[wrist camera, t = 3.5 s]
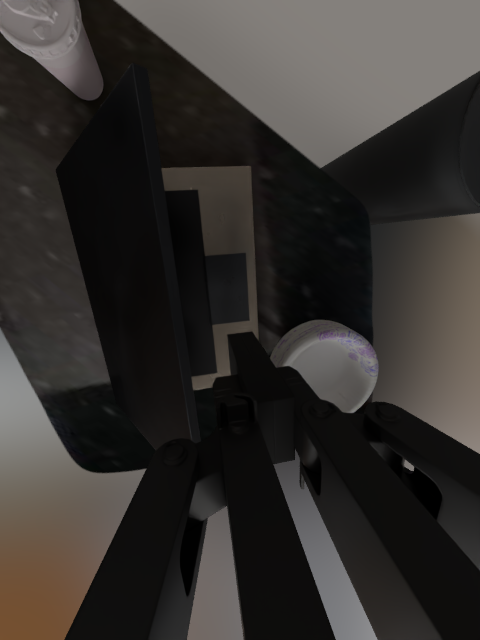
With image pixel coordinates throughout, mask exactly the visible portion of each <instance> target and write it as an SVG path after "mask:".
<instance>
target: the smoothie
mask: <svg viewBox="0 0 480 640" xmlns="http://www.w3.org/2000/svg"><path fill="white" fill-rule="evenodd" d="M0 32H1V33H2V34H3V35H4V37H5V38H6V39H7V40H8V41H9V42H10V43H12V44H13V45H14V46H15V47H16V48H17V49H19V50H20V51H22V52H24V53H26V54H27V55H29V56H32V57H33V58H34V59H36V60H37V61H38V62H39V63H40V64H41V65H42V66H44V67H45V68H46V69H47V70H48V71H49V72H50V73H51V74H53V75H54V76H55V77H56V78H57V79H58V80H59V81H61V82H62V83H63V84H64V85H65V86H66V87H67V88H69V89H70V90H71V91H72V92H73V93H74V94H75V95H77V96H78V97H80V98H81V99H84V100H94V99H96V98H98V97H99V96H100V95H101V93H102V90H103V78H102V75H101V72H100V70H99V67H98V64H97V61H96V59H95V56H94V53H93V51H92V48H91V45H90V43H89V40H88V37H87V34H86V32H85V29H84V26H83V23H82V20H81V11H80V6H79V2H78V0H0Z"/></svg>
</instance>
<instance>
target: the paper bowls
mask: <svg viewBox="0 0 480 640" xmlns="http://www.w3.org/2000/svg"><path fill="white" fill-rule="evenodd" d="M270 359H271V361H272V362H273V364H274V365H275V367H276V368H277V367H284V366H290V367H292V368H294V369H296V370H297V371H298V372H299V373H300V374H301V376H302V378H304V379H305V381H306V383H308V384H309V386H310V387H311V388H312V389H313V391H314V392H315V393H316V394H317V396H318V397H319V398H320V399H322V400H327V401H329V402H331V403H333V404H335V405H336V406H337V407H338V408H339V409H340V410H341V411H342V412H346V413H353V412H355V411H356V410H357V409H358V408H360V407H361V406H362V405H363V404H364V402H365V401H366V400H367V399H368V397H369V396H370V394H371V393H372V391H373V389H374V387H375V384H376V381H377V377H378V368H379V367H378V359H377V356H376V353H375V351H374V349H373V347H372V346H371V344H370V343H369V342H368V341H367V340H366V339H365V338H364V337H363V336H361V335H360V334H358V333H357V332H355V331H353V330H351V329H350V328H348V327H346V326H344V325H342V324H340V323H337V322H334V321H329V320H313V321H309V322H306V323H303V324H300V325H298V326H297V327H295V328H293V329H291V330H290V331H289V332H287V333H286V334H285V335H284V336H283V337H282V338H281V339H280V340H279V342H278V343H277V344H276V346H275V348H274V349H273V351H272V354H271V356H270Z"/></svg>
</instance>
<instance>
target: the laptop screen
mask: <svg viewBox="0 0 480 640" xmlns="http://www.w3.org/2000/svg"><path fill="white" fill-rule="evenodd" d="M56 173H57V177H58V181H59V185H60V189H61V192H62V196H63V200H64V204H65V208H66V212H67V216H68V219H69V223H70V227H71V231H72V235H73V239H74V242H75V246H76V250H77V254H78V258H79V262H80V265H81V269H82V273H83V277H84V281H85V285H86V288H87V292H88V296H89V300H90V304H91V308H92V311H93V315H94V319H95V323H96V327H97V331H98V334H99V338H100V342H101V346H102V350H103V354H104V358H105V361H106V365H107V369H108V373H109V377H110V381H111V384H112V388H113V392H114V396H115V400H116V404H117V405H118V406H119V407H120V408H121V409H122V411H123V412H124V413H125V414H126V415H127V417H128V418H129V419H130V420H131V421H132V422H133V424H134V425H135V426H136V427H137V428H138V429H139V431H140V432H141V433H142V434H143V435H144V437H145V438H146V439H147V440H148V441H149V442H150V444H151V445H152V446H153V447H154V448H155V449H156V451H157V449H158V448H159V447H160V446H162V445H163V444H164V443H166V442H168V441H171V440H173V439H178V438H185V439H190V440H191V441H193V442H194V443H195V444H196V443H198V442H200V441H201V440H200V433H199V426H198V419H197V412H196V405H195V398H194V391H193V384H192V377H191V370H190V363H189V356H188V349H187V343H186V336H185V329H184V322H183V315H182V308H181V301H180V294H179V287H178V280H177V273H176V266H175V259H174V252H173V245H172V238H171V231H170V224H169V217H168V210H167V203H166V196H165V189H164V182H163V175H162V168H161V161H160V154H159V147H158V140H157V134H156V127H155V120H154V113H153V106H152V99H151V92H150V85H149V78H148V71H147V69H146V68H144V67H142V66H139V65H137V64H135V63H131V65H130V66H129V68H128V69H127V70H126V72H125V73H124V75H123V76H122V77H121V79H120V80H119V82H118V83H117V84H116V86H115V87H114V89H113V90H112V91H111V93H110V94H109V96H108V97H107V98H106V100H105V101H104V103H103V104H102V105H101V107H100V108H99V110H98V111H97V112H96V114H95V115H94V117H93V118H92V119H91V121H90V122H89V124H88V125H87V126H86V128H85V129H84V131H83V132H82V133H81V135H80V136H79V138H78V139H77V140H76V142H75V143H74V145H73V146H72V147H71V149H70V150H69V152H68V153H67V154H66V156H65V157H64V159H63V160H62V161H61V163H60V164H59V166H58V167H57V168H56Z"/></svg>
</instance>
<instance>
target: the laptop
mask: <svg viewBox="0 0 480 640" xmlns="http://www.w3.org/2000/svg"><path fill="white" fill-rule="evenodd" d="M162 175H163V182H164V189H165V196H166V203H167V210H168V217H169V224H170V231H171V238H172V245H173V252H174V259H175V266H176V273H177V280H178V287H179V294H180V301H181V308H182V315H183V322H184V329H185V336H186V343H187V349H188V356H189V363H190V370H191V377H192V384H193V390H197V389H204V388H211V387H213V382H214V381H215V379H216V377H222V376H228V375H231V373H230V362H229V350H228V339H227V334H235V333H243V332H251V331H252V332H253V333H254V335H255V336H256V338H257V339H258V341H259V334H258V312H257V289H256V267H255V245H254V223H253V200H252V178H251V166H227V167H188V168H162Z"/></svg>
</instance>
